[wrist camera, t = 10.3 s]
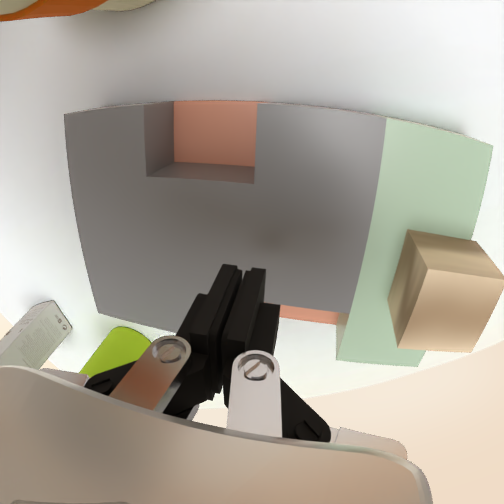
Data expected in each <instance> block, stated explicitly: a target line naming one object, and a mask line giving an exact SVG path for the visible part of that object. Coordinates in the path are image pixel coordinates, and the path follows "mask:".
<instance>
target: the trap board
mask: <svg viewBox="0 0 504 504" xmlns="http://www.w3.org/2000/svg"><path fill="white" fill-rule="evenodd" d="M64 122H65V137H66V149H67V159H68V168H69V176H70V184H71V191H72V198H73V204H74V210H75V216H76V221H77V227H78V232H79V237H80V242H81V247H82V251H83V256H84V260H85V265H86V269H87V273H88V277H89V281H90V285H91V289H92V292H93V296H94V300H95V303H96V307H97V310H98V313H101V314H104V315H108V316H111V317H115V318H119V319H122V320H126V321H130V322H134V323H138V324H141V325H145V326H149V327H154V328H158V329H162V330H166V331H170V332H175V333H177V332H178V330H179V328H180V326H181V324H182V322H183V320H184V318H185V317H186V315H187V313H188V311H189V309H190V307H191V305H192V303H193V301H194V300H195V298H196V296H197V294H199V293H202V294H208V293H209V291H210V288H211V286H212V284H213V282H214V280H215V278H216V276H217V274H218V272H219V270H220V268H221V266H222V264H230V265H237V267H238V269H240V270H242V279H243V276H244V274H245V271H246V270H248V271H251V268H252V267H254V268H262V269H266V280H265V294H264V303H272V304H280V305H281V307H280V316H279V317H283V318H290V319H297V320H304V321H311V322H319V323H327V324H335V325H336V360H340V361H349V362H359V363H370V364H382V365H395V366H411V367H418V365H419V363H420V361H421V359H422V358H423V356H424V354H425V352H426V350H413V349H400V348H397V343H396V338H395V333H394V328H393V324H392V319H391V314H390V310H389V306H388V301H387V298H388V295H389V292H390V289H391V286H392V282H393V279H394V276H395V272H396V269H397V266H398V262H399V258H400V255H401V251H402V247H403V244H404V240H405V236H406V232H407V229H409V230H415V231H421V232H427V233H433V234H439V235H444V236H450V237H455V238H461V239H466V240H471V238H472V235H473V231H474V228H475V225H476V221H477V217H478V214H479V210H480V206H481V202H482V198H483V194H484V190H485V185H486V181H487V176H488V171H489V166H490V161H491V156H492V150H493V146H492V145H490V144H487V143H485V142H482V141H479V140H477V139H474V138H471V137H469V136H466V135H463V134H459V133H456V132H452V131H448V130H445V129H441V128H437V127H433V126H429V125H424V124H420V123H416V122H411V121H407V120H402V119H397V118H392V117H387V116H381V115H376V114H370V113H364V112H357V111H351V110H344V109H336V108H329V107H320V106H311V105H301V104H289V103H275V102H257V101H221V100H206V101H169V102H152V103H138V104H127V105H117V106H108V107H100V108H94V109H88V110H83V111H78V112H73V113H68V114H64Z"/></svg>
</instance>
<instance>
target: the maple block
mask: <svg viewBox="0 0 504 504" xmlns="http://www.w3.org/2000/svg"><path fill="white" fill-rule="evenodd" d="M503 289H504V276H503V274H502V273H501V272H500V270H499V269H498V268H497V266H496V265H495V264H494V263H493V261H492V260H491V259H490V258H489V256H488V255H487V254H486V253H485V251H484V250H483V249H482V248H481V247H480V245H479V244H478V243H477V242H476V241H471V240H466V239H461V238H455V237H450V236H444V235H439V234H433V233H427V232H421V231H415V230H409V229H407V232H406V236H405V240H404V244H403V247H402V251H401V255H400V258H399V262H398V266H397V269H396V272H395V276H394V279H393V282H392V286H391V289H390V292H389V295H388V298H387V301H388V306H389V310H390V314H391V319H392V324H393V328H394V333H395V338H396V343H397V348H400V349H413V350H428V351H445V352H469V353H471V352H472V350H473V348H474V346H475V345H476V343H477V341H478V339H479V337H480V336H481V334H482V332H483V330H484V328H485V326H486V324H487V322H488V320H489V318H490V316H491V314H492V312H493V310H494V308H495V306H496V304H497V302H498V300H499V297H500V295H501V293H502V291H503Z"/></svg>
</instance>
